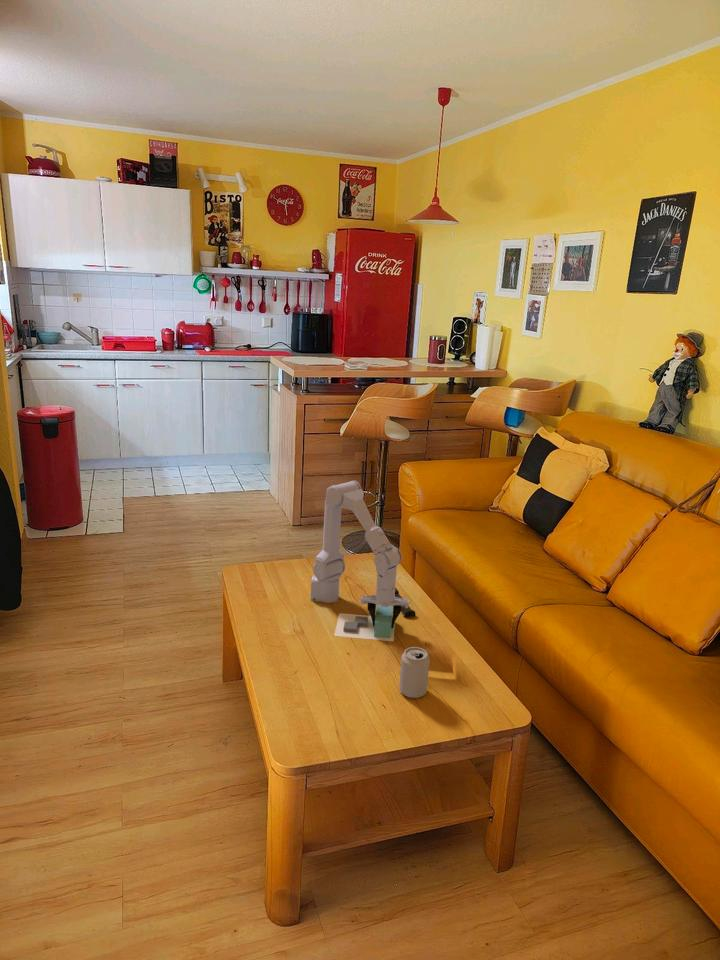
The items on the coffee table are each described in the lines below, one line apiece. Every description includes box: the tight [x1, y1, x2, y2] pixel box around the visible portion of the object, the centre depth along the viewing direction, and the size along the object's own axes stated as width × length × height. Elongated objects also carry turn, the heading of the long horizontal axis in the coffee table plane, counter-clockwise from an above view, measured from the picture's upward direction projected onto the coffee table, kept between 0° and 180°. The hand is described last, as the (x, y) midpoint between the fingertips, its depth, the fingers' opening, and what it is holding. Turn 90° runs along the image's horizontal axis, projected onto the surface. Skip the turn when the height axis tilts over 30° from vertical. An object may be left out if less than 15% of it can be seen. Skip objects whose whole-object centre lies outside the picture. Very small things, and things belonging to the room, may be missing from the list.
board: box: [334, 612, 396, 642], centre depth 205 cm, size 18×14×2 cm
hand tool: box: [395, 586, 416, 618], centre depth 221 cm, size 19×4×5 cm, turn 16°
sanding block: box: [374, 604, 393, 638], centre depth 204 cm, size 5×11×5 cm, turn 175°
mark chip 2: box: [355, 616, 368, 627], centre depth 207 cm, size 4×4×1 cm
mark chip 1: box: [343, 622, 358, 633], centre depth 203 cm, size 4×4×1 cm
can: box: [398, 646, 431, 699], centre depth 175 cm, size 8×8×12 cm
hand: (383, 625), depth 204 cm, fingers closed on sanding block, 5 cm apart
